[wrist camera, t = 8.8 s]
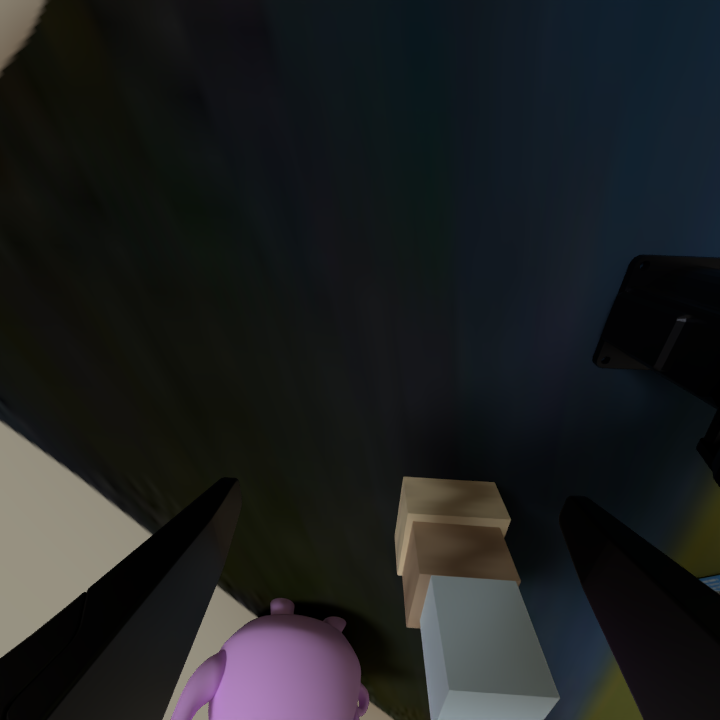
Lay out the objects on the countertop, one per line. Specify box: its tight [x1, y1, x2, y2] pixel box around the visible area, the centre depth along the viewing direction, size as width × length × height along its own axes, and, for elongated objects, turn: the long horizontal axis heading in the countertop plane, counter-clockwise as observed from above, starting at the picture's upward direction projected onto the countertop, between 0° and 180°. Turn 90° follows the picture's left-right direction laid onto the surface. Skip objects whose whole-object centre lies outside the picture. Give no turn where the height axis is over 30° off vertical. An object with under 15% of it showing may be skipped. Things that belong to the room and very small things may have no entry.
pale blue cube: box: [420, 575, 560, 720], centre depth 18 cm, size 5×5×5 cm
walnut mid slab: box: [402, 521, 521, 628], centre depth 22 cm, size 6×6×4 cm
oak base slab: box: [395, 477, 511, 575], centre depth 25 cm, size 7×7×4 cm
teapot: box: [171, 598, 369, 720], centre depth 29 cm, size 20×14×12 cm
